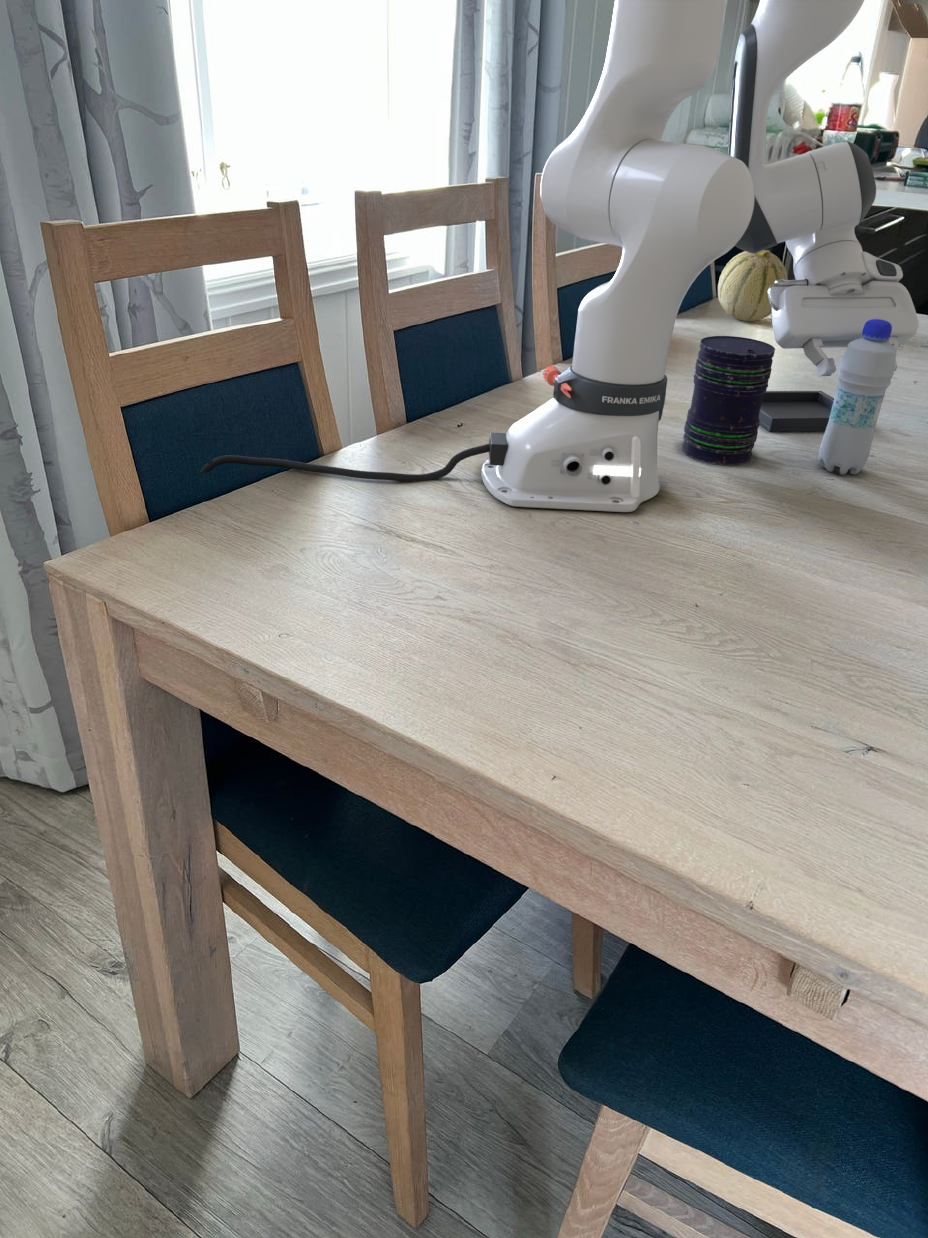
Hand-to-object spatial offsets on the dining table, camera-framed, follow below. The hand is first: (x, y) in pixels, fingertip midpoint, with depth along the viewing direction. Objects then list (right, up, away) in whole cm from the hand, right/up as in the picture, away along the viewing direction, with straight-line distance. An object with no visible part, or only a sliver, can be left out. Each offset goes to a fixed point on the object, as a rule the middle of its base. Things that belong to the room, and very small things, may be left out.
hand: (858, 373), depth 123 cm
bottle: (0, -12, +6) cm, 13 cm away
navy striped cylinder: (-16, -9, +9) cm, 21 cm away
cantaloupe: (+11, +34, +85) cm, 92 cm away
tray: (0, 0, +25) cm, 25 cm away
